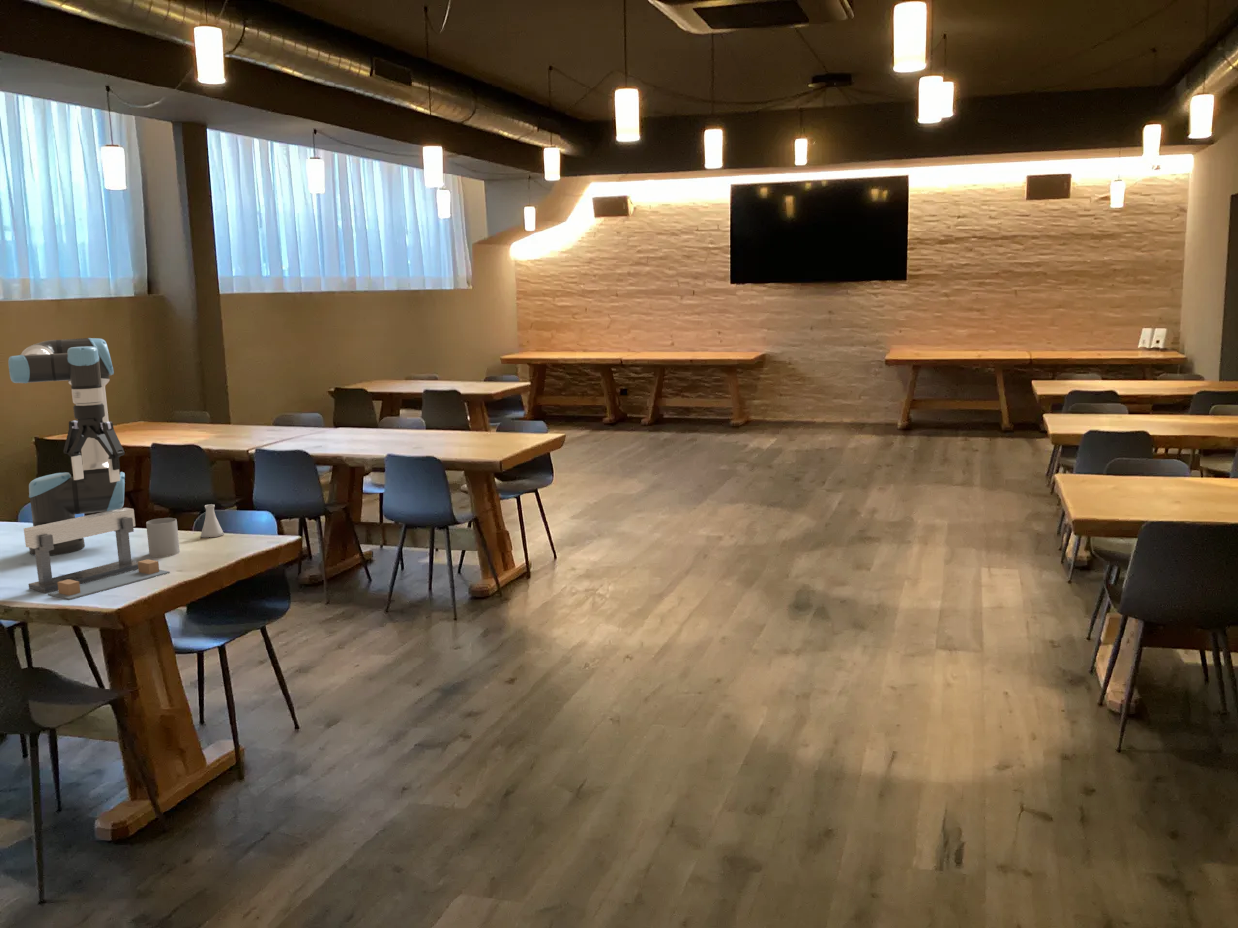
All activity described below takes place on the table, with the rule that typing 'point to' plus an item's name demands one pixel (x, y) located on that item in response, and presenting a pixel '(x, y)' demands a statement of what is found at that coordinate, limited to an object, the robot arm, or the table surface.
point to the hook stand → (88, 575)
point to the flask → (211, 523)
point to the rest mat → (108, 581)
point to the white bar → (78, 527)
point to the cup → (162, 537)
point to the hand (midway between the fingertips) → (96, 480)
